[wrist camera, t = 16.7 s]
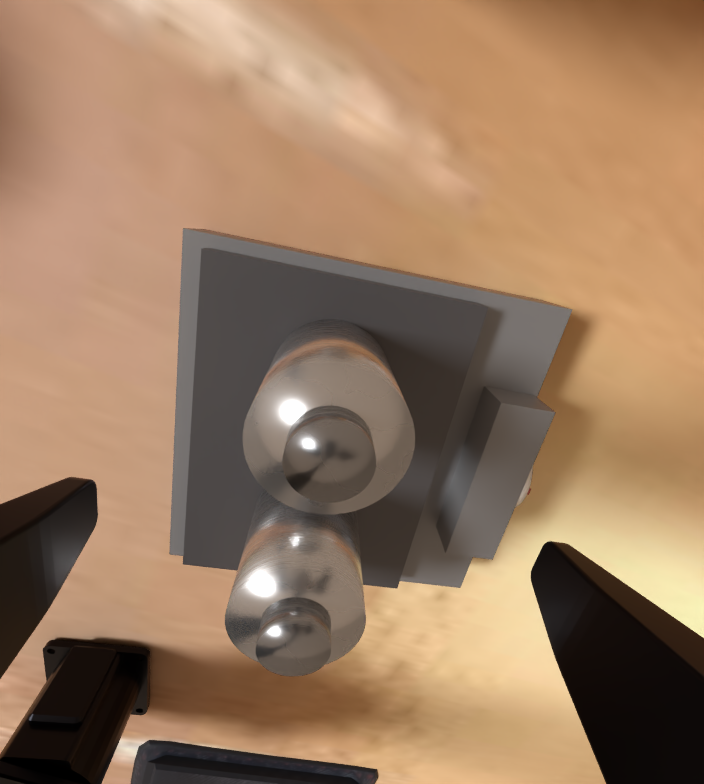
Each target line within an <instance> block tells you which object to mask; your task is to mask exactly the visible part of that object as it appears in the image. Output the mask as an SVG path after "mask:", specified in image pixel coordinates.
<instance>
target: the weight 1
mask: <svg viewBox="0 0 704 784" xmlns="http://www.w3.org/2000/svg"><path fill="white" fill-rule="evenodd" d="M414 448H415V429H414V424H413V420H412V417H411V414H410V412H409V409H408V407H407V404H406V402H405V400H404V398H403V395H402V393H401V391H400V388H399V386H398V384H397V382H396V379H395V377H394V375H393V372H392V370H391V368H390V365H389V363H388V361H387V359H386V356H385V354H384V352H383V350H382V348H381V346H380V345H379V344H378V342H377V341H376V340H375V339H374V338H373V337H372V336H371V335H370V334H369V333H368V332H367V331H365V330H364V329H362V328H361V327H359V326H357V325H355V324H352V323H350V322H346V321H343V320H336V319H324V320H317V321H314V322H310V323H308V324H305V325H303V326H301V327H299V328H298V329H296V330H295V331H293V332H292V333H291V334H290V335H289V336H288V337H287V338H286V339H285V340H284V341H283V342H282V344H281V345H280V347H279V349H278V350H277V352H276V354H275V357H274V359H273V361H272V363H271V365H270V367H269V369H268V371H267V373H266V375H265V377H264V380H263V382H262V384H261V386H260V388H259V390H258V392H257V394H256V396H255V398H254V401H253V403H252V405H251V407H250V409H249V411H248V414H247V417H246V419H245V423H244V428H243V450H244V455H245V458H246V462H247V464H248V466H249V469H250V471H251V472H252V474H253V476H254V477H255V479H256V480H257V481H258V483H259V484H260V485H261V486H262V487H263V488H264V489H265V490H266V491H267V492H268V493H269V494H270V495H272V496H273V497H274V498H276V499H277V500H279V501H280V502H282V503H284V504H286V505H288V506H290V507H292V508H295V509H298V510H301V511H304V512H309V513H314V514H326V515H327V514H342V513H348V512H352V511H356V510H359V509H362V508H365V507H367V506H369V505H371V504H373V503H375V502H377V501H378V500H380V499H381V498H383V497H384V496H386V495H387V494H388V493H389V492H390V491H392V490H393V489H394V487H395V486H396V485H397V484H398V483H399V482H400V480H401V479H402V478H403V476H404V475H405V473H406V471H407V469H408V467H409V465H410V463H411V460H412V457H413V452H414Z"/></svg>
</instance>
